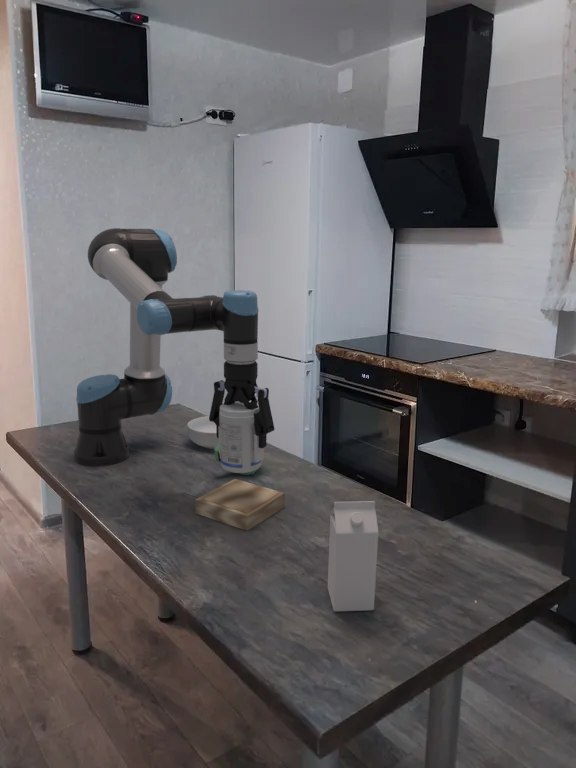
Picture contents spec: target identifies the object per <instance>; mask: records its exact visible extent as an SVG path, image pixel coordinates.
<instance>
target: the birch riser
mask: <svg viewBox="0 0 576 768" xmlns="http://www.w3.org/2000/svg"><path fill="white" fill-rule="evenodd" d="M285 496H286V493H285V492H282V491H279V490H275V489H272V488H268V487H265V486H262V485H258V484H254V483H252V482H248V481H244V480H241V479H237V478H234V479H232V480H230V481H228V482H226V483H225V484H222V485H221V486H218V487H217V488H214V489H213V490H211V491H209V492H207V493H205V494H203V495H202V496H199V497H198V498H197V497H196V499H194V501H195V503H194V504H195V505H194V507H195V508H194V509H195V514H196V515H198V516H202V517H205V518H208V519H211V520H213V521H217V522H220V523H223V524H226V525H229V526H232V527H235V528H238V529H241V530H244V531H247V532H248V531H250V530H251V529H252V528H254V527H256V526H258V525H259V524H260V523H262V522H263V521H265V520H266V519H268V518H270V517H272V516H273V515H274V514H276V513H277V512H278V511H280V510H282V509H284V508H285V503H286V499H285V498H286V497H285Z"/></svg>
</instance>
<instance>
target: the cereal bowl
mask: <svg viewBox="0 0 576 768" xmlns="http://www.w3.org/2000/svg"><path fill="white" fill-rule="evenodd" d="M209 416H210V415H207V416H200V417H196V418H194V419H191V420H189V421H188V422H187V425H186V426H187V427H186V428H187V435H188V437H189V439H190V440H191V441H192V442H193V443H194V444H196V445H198V446H201V447H203V448H205V449H209V450H214V449H215V447H216V446H217V444H219V438H217V436H216V432H217V431H216V424H215V423H214V422H213V421H212V422H211V421H210V420H209Z"/></svg>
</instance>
